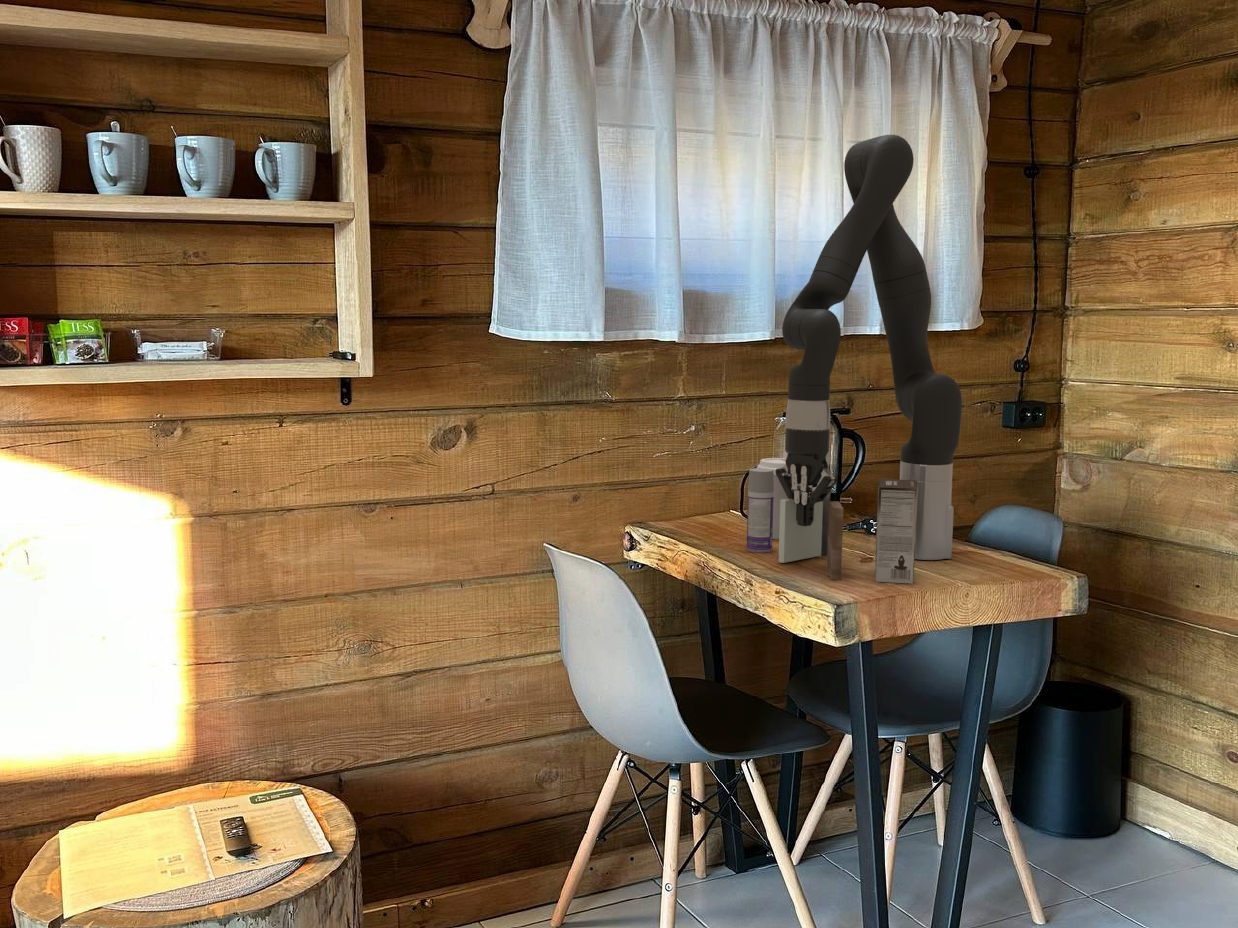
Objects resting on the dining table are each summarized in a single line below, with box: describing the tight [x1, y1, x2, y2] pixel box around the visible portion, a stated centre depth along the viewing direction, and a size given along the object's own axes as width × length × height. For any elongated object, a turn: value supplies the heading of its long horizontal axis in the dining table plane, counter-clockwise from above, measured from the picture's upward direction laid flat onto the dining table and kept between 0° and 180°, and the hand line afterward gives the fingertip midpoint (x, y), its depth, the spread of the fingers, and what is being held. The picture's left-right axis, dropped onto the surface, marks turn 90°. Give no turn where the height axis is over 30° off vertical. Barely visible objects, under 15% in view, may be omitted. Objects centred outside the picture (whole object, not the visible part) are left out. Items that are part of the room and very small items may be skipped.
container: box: [746, 467, 774, 554], centre depth 220 cm, size 5×5×15 cm
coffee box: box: [875, 478, 918, 585], centre depth 200 cm, size 9×6×16 cm
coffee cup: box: [756, 457, 801, 541], centre depth 233 cm, size 10×10×15 cm
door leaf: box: [778, 495, 823, 564], centre depth 212 cm, size 10×1×11 cm, turn 130°
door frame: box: [821, 491, 844, 581], centre depth 209 cm, size 2×24×12 cm, turn 176°
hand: (804, 525), depth 207 cm, fingers closed
